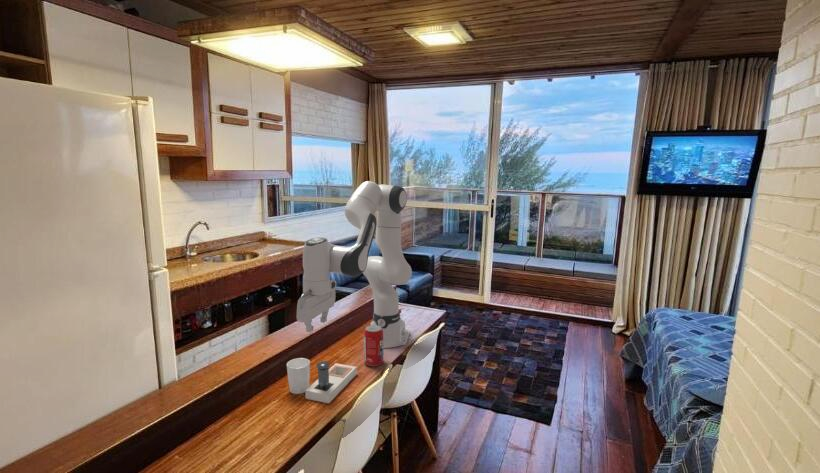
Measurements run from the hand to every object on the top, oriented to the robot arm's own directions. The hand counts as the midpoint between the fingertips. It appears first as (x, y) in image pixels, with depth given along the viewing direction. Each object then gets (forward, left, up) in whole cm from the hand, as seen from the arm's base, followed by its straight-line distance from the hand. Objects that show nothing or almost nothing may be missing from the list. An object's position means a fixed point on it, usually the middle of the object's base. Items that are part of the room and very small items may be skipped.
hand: (316, 326), depth 138 cm
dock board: (-7, +2, -25) cm, 26 cm away
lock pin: (-1, +2, -25) cm, 25 cm away
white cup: (-1, -8, -25) cm, 26 cm away
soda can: (-28, +9, -25) cm, 38 cm away
